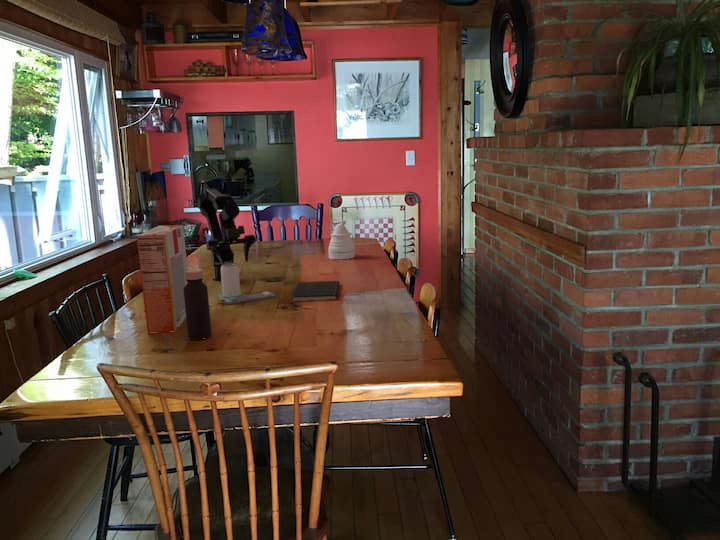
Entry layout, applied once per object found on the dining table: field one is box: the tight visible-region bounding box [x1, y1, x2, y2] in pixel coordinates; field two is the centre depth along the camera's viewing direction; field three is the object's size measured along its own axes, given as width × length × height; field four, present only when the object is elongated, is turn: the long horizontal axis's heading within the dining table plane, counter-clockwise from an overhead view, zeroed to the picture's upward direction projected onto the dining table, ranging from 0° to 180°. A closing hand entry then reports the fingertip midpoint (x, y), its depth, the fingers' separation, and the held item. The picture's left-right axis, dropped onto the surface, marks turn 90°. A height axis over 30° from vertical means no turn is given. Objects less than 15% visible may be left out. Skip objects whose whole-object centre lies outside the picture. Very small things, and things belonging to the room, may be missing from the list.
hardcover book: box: [291, 280, 340, 302], centre depth 225 cm, size 16×23×2 cm
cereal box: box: [136, 224, 189, 334], centre depth 191 cm, size 23×8×30 cm, turn 2°
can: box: [221, 262, 241, 298], centre depth 223 cm, size 6×6×12 cm
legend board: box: [223, 291, 277, 305], centre depth 219 cm, size 18×6×1 cm, turn 116°
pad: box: [217, 291, 245, 302], centre depth 224 cm, size 9×9×1 cm
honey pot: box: [327, 220, 356, 260], centre depth 292 cm, size 13×13×18 cm
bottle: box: [183, 268, 213, 340], centre depth 175 cm, size 7×7×20 cm
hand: (235, 263), depth 235 cm, fingers open, 9 cm apart
